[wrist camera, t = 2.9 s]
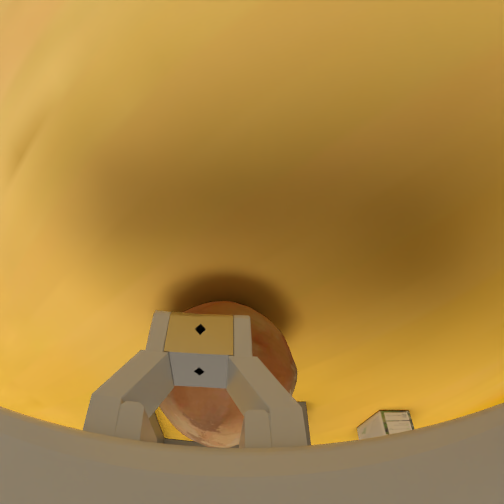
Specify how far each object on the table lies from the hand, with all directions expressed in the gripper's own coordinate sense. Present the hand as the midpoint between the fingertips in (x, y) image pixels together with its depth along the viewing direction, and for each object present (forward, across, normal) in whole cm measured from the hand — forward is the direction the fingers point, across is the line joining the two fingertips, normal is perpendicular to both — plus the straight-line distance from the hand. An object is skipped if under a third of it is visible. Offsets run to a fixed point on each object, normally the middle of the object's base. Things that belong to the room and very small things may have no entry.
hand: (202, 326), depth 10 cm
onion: (+10, -1, +11) cm, 15 cm away
